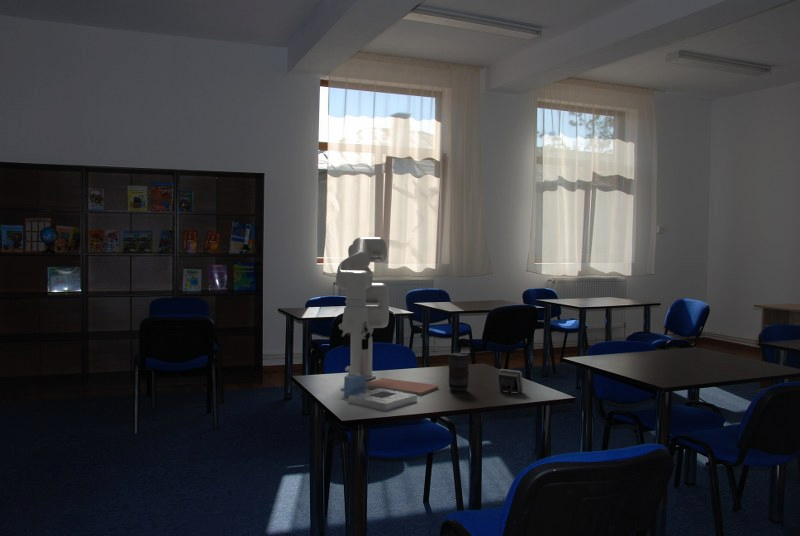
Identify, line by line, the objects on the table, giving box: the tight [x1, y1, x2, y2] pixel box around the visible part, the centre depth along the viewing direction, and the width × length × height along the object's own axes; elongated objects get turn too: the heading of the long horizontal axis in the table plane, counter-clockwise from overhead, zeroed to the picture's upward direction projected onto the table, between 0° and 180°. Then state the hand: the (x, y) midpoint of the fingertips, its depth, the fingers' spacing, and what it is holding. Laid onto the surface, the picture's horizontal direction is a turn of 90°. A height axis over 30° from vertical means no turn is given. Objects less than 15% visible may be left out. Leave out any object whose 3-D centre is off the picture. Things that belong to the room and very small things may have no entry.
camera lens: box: [448, 352, 470, 394], centre depth 257 cm, size 8×8×15 cm
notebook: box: [365, 377, 440, 397], centre depth 262 cm, size 27×17×2 cm, turn 60°
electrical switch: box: [498, 368, 524, 394], centre depth 256 cm, size 9×5×9 cm, turn 59°
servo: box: [340, 373, 369, 397], centre depth 247 cm, size 11×4×8 cm, turn 141°
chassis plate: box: [347, 388, 418, 412], centre depth 237 cm, size 18×18×2 cm
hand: (355, 348), depth 247 cm, fingers open, 9 cm apart
